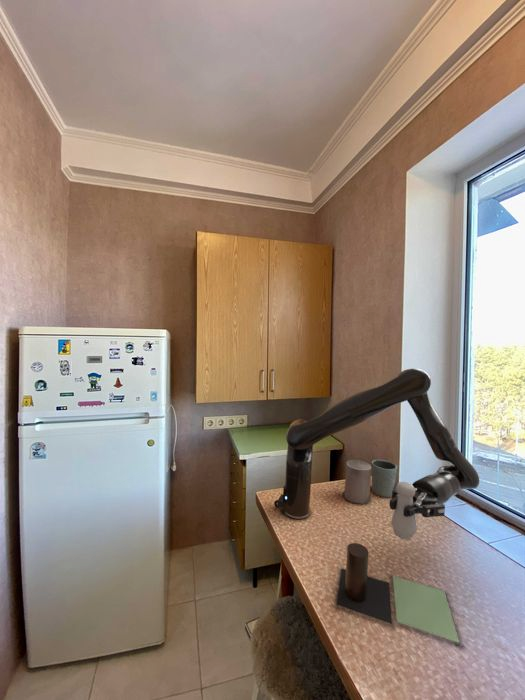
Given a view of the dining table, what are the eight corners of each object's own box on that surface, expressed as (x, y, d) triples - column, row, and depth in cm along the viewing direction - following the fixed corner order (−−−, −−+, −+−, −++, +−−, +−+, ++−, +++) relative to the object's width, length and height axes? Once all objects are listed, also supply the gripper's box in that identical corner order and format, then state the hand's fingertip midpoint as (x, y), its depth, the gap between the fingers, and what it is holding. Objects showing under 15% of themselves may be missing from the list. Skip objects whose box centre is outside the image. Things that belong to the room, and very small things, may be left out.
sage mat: (396, 624, 65) (396, 621, 65) (392, 577, 79) (392, 575, 79) (459, 645, 61) (459, 643, 61) (444, 593, 74) (444, 590, 74)
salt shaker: (419, 544, 71) (422, 491, 71) (394, 540, 72) (396, 488, 72) (411, 529, 77) (414, 480, 76) (388, 525, 78) (391, 477, 77)
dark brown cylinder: (344, 598, 71) (346, 553, 70) (345, 582, 76) (348, 540, 75) (365, 605, 69) (368, 559, 69) (366, 589, 74) (368, 546, 73)
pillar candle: (357, 490, 125) (359, 455, 125) (374, 501, 117) (376, 464, 116) (339, 494, 121) (341, 458, 121) (356, 506, 112) (358, 467, 112)
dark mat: (336, 607, 69) (336, 604, 69) (341, 570, 80) (341, 568, 80) (391, 626, 65) (392, 623, 65) (389, 585, 76) (389, 582, 76)
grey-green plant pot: (383, 500, 118) (385, 470, 118) (364, 488, 127) (366, 461, 127) (400, 495, 123) (402, 466, 122) (381, 484, 132) (382, 457, 131)
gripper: (408, 468, 88) (373, 482, 78) (461, 488, 76) (428, 508, 67) (407, 492, 88) (372, 509, 78) (459, 516, 77) (426, 540, 67)
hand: (398, 509), depth 73 cm, fingers closed on salt shaker, 3 cm apart
